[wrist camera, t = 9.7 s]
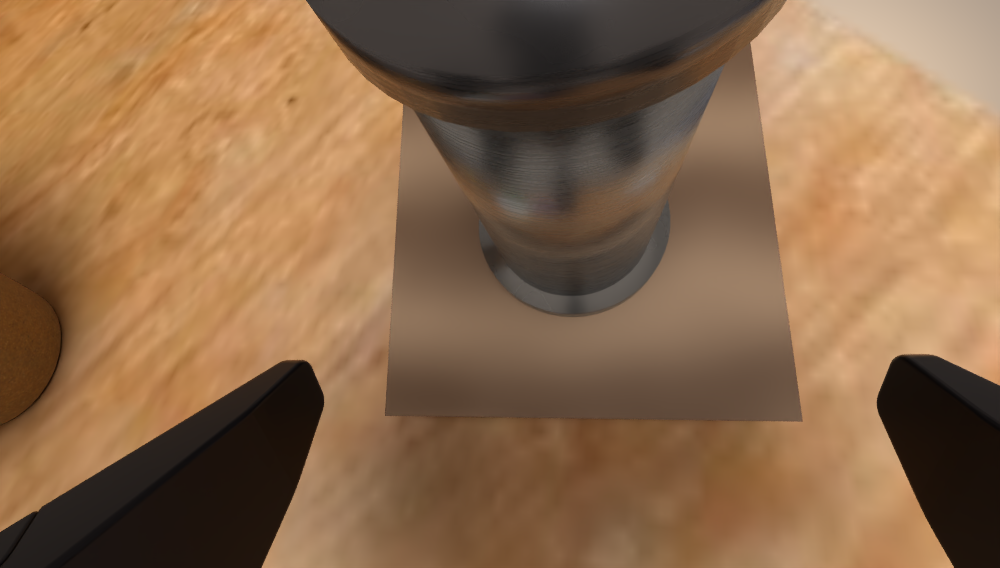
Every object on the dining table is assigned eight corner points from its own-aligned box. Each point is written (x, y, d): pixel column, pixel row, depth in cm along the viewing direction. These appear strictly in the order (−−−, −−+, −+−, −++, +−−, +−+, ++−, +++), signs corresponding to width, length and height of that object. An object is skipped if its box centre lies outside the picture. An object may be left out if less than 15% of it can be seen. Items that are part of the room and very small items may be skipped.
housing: (592, 355, 16) (616, 231, 4) (448, 248, 18) (148, -71, 6) (704, 204, 17) (1054, -343, 4) (553, 115, 19) (490, -445, 6)
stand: (757, 415, 18) (802, 421, 15) (421, 411, 21) (384, 415, 17) (720, 104, 22) (750, 42, 18) (433, 132, 24) (404, 82, 20)
